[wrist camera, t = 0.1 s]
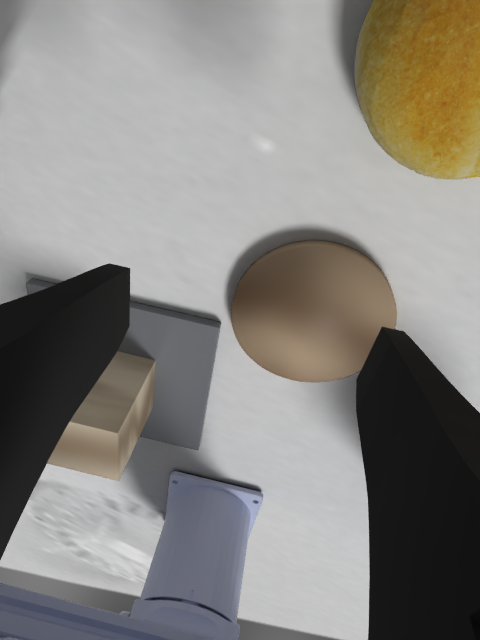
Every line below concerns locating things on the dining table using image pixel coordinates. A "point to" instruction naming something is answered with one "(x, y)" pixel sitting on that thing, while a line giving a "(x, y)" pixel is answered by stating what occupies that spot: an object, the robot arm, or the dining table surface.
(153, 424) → the tile
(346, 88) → the dining table surface
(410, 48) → the bread roll
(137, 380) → the maple block
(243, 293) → the cork coaster
